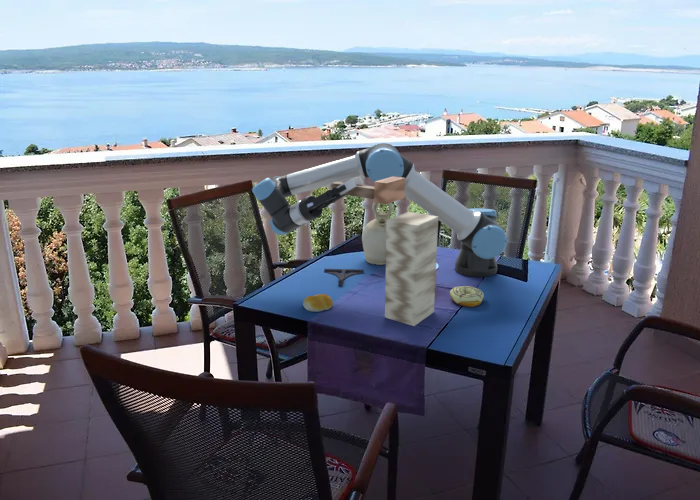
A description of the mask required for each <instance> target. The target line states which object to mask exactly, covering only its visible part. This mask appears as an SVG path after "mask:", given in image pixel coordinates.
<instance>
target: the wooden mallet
mask: <svg viewBox="0 0 700 500" xmlns="http://www.w3.org/2000/svg"><path fill="white" fill-rule="evenodd" d="M343 183H345V181H342V182H334V183H332V184H331V190H332V189H333V188H336V189H337V187H338V186H339V185H341V184H343ZM373 183H374V186H372V185H366V184H364V185H359V184H356V186H357V187H355V188H353V189H351V190H349V191H348V192H346V193H344V194H343V195H346V196H349V197H356V198H357V197H358V198H362V199H364V198H365V199H369V200H373V203H378V204H380V205H381V204H382V205H388V204H389V203H392V204H393V203H395V202H396V201H400V200H403V199H405V196H404V194H405V178H402V177H394V176H393V177H389V178H386V179H382V180H379V181H375V182H373Z"/></svg>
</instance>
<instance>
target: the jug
mask: <svg viewBox="0 0 700 500" xmlns="http://www.w3.org/2000/svg"><path fill="white" fill-rule="evenodd" d="M378 204H379V203H374V202H373V203H372V207H371V211H372V213H373V214H374V216H375V218H374V219H372V220H370V221H369V222H368V223H366V225H364V228H363V230H362V233H361V235H362V236H361V241H362V242H361V243H362V249H363V254H364V258H365V261H366V262H367V263H368V264H371V265H375V264H376V266H384V265H383V264H386V223H387V220H388V219H390V215H391V214H392V213H393V209H394V207H393V202H392V203H389V204H387V206H388V210H387V211H384V210H382V212H379V211H377V206H378Z"/></svg>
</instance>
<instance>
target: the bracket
mask: <svg viewBox="0 0 700 500" xmlns="http://www.w3.org/2000/svg"><path fill="white" fill-rule="evenodd" d="M323 272H324V273H326V274H330V275H332V276H336V277H337V278H338V282H337V283H338V285H337V286H338V287H342V286H343V284H344V281H345V280H346V279H347V278H348V277H351V276H355V274H356V275H362V274H364V272H365V269H359V268H358V269H356V268H355V269H352V268H350V269H349V268H324V271H323ZM361 273H362V274H361Z"/></svg>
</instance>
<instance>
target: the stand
mask: <svg viewBox="0 0 700 500" xmlns="http://www.w3.org/2000/svg"><path fill="white" fill-rule="evenodd" d="M438 232H439V220H438V216H432V215H431V214H425V213H418V212H413V211H407V212H404V213H401V214H398V215H396V216H393V217H391V218H389V219H388V220H387V223H386V265H385V288H384V289H385V290H384V300H385V301H384V318H386V319H389V320H392V321H395V322H398V323H402V324H405V325H409V326H412V327H416V326H417V325H418V324H419V323H420V322H422V321H423V320H425V319H427V318H428V317H429V316H431V315H432V314H434V313H435V299H436V296H435V295H436V277H437V275H436V274H437V255H438V254H437V252H438Z"/></svg>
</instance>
